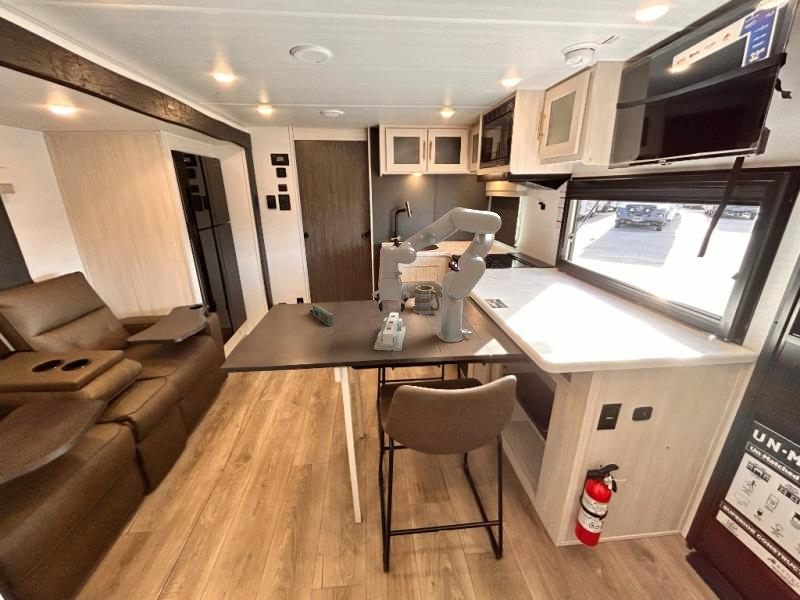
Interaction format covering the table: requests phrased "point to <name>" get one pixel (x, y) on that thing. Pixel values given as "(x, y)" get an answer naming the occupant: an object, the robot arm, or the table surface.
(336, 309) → the table surface
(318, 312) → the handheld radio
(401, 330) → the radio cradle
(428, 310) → the tankard
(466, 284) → the robot arm
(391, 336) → the power strip
